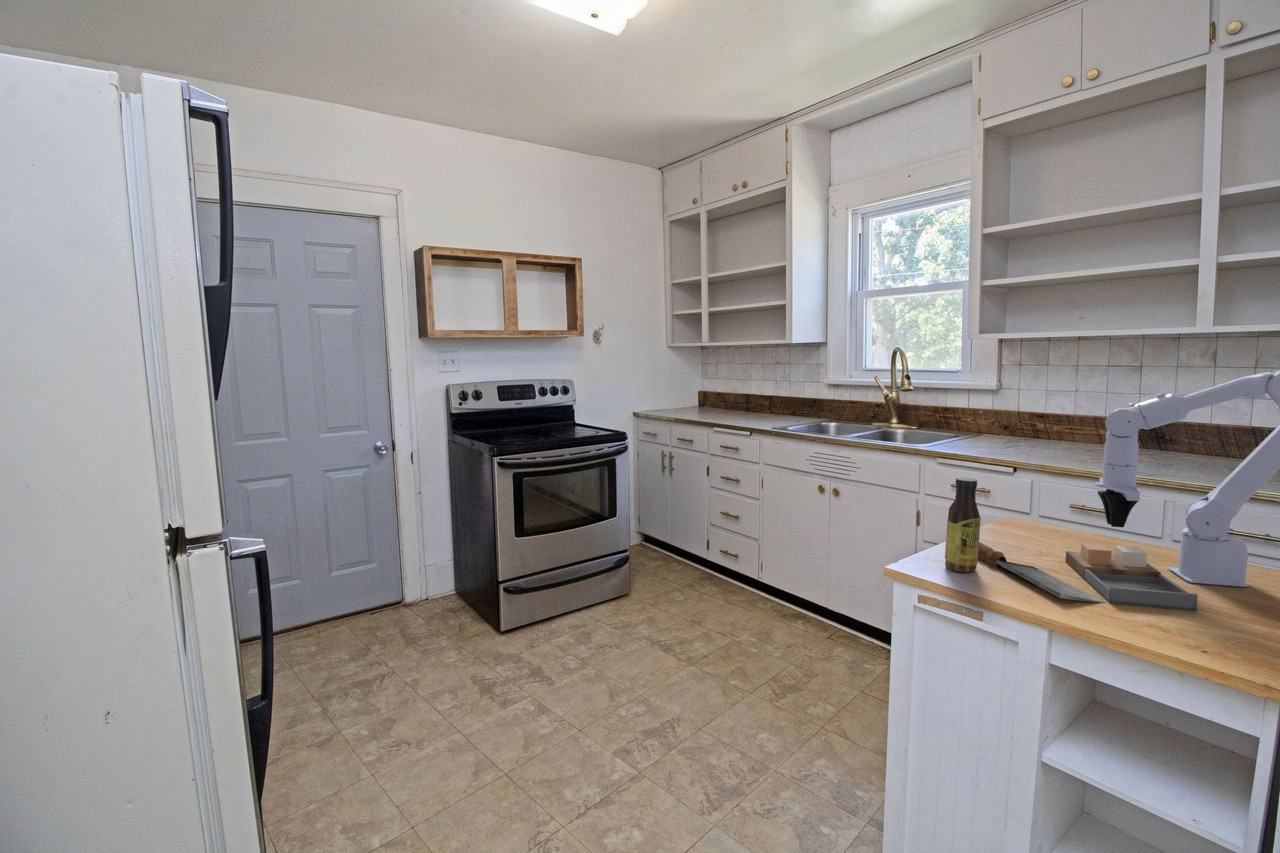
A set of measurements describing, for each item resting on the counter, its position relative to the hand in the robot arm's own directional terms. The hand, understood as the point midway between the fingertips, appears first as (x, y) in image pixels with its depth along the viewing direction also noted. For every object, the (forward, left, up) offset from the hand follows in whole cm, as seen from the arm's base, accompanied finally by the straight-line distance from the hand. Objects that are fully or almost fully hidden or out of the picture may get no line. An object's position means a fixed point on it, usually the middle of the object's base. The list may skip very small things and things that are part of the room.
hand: (1115, 525), depth 131 cm
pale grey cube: (0, +8, -6) cm, 10 cm away
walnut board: (+3, +7, -8) cm, 11 cm away
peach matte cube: (+6, +8, -6) cm, 11 cm away
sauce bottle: (+32, +12, -9) cm, 35 cm away
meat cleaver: (+20, +10, -9) cm, 24 cm away
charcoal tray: (+3, +19, -8) cm, 21 cm away
